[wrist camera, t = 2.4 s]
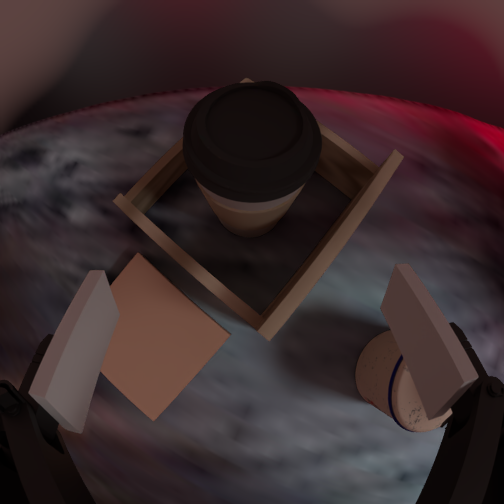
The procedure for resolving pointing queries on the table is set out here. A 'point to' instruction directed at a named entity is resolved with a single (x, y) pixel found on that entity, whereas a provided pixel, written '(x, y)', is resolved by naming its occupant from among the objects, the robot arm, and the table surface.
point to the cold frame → (289, 298)
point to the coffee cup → (251, 153)
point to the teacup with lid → (392, 385)
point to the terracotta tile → (156, 338)
